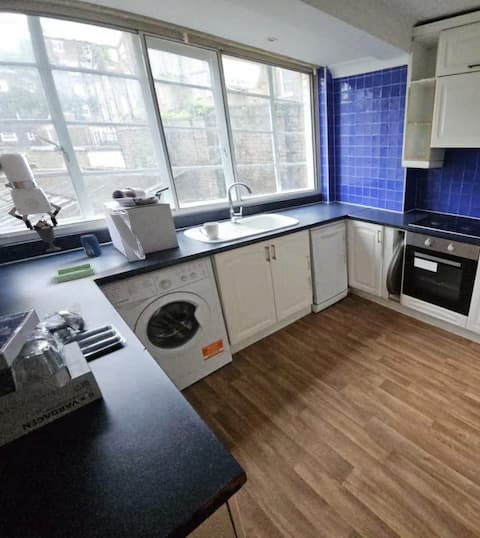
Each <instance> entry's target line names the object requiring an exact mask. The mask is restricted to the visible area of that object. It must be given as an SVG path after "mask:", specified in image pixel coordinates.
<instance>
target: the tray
mask: <svg viewBox="0 0 480 538" xmlns="http://www.w3.org/2000/svg"><path fill="white" fill-rule="evenodd" d="M92 275H95V271H94V267H93V265H92V263H91V262H89V263H84V264H79V265H75V266H70V267H66V268H61V269H56V270H55V280H56V282H57V283H62V282H63V283H64V282H66V281H71V280H75V279H79V278H83V277H88V276H92Z"/></svg>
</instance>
